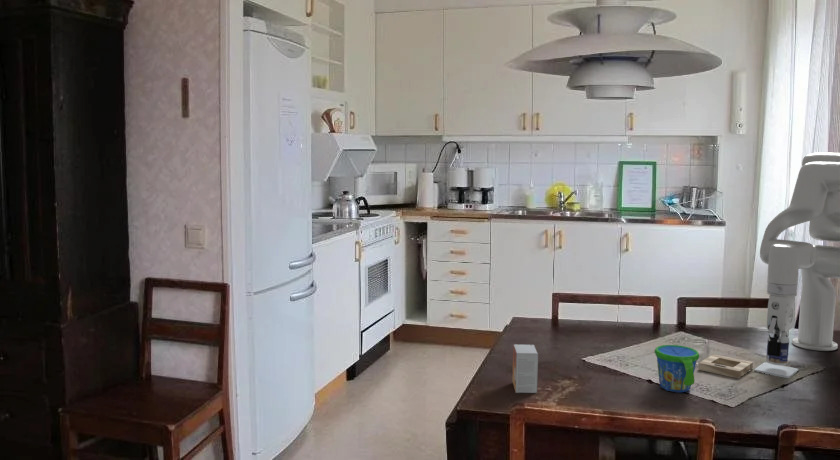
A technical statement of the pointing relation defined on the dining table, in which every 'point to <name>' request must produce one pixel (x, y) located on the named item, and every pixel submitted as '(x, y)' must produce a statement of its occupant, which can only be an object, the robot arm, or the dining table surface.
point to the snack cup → (676, 367)
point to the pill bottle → (784, 351)
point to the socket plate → (725, 366)
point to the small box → (525, 368)
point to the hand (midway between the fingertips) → (777, 352)
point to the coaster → (776, 370)
